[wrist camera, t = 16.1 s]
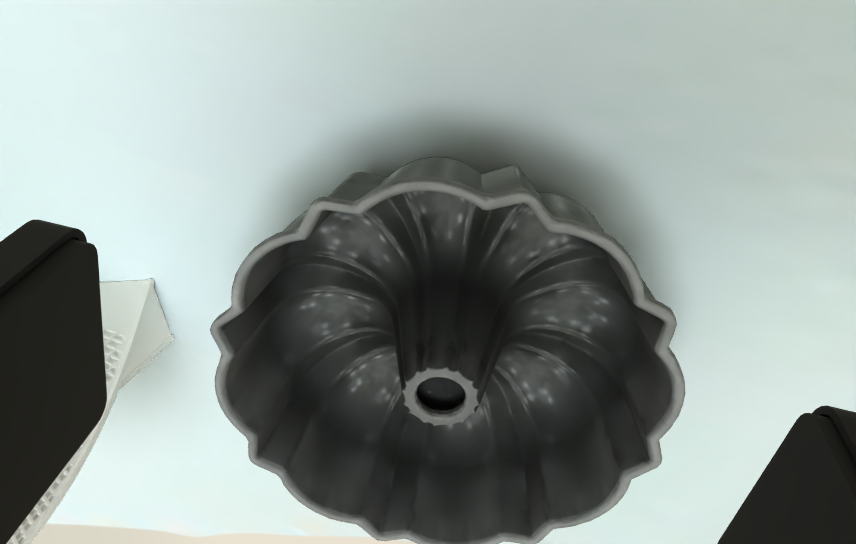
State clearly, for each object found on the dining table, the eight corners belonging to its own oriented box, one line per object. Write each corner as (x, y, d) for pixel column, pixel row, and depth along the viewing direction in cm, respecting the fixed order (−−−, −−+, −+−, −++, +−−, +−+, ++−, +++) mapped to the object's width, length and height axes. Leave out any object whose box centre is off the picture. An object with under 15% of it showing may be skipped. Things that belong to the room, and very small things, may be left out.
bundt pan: (639, 449, 53) (663, 564, 44) (298, 444, 56) (260, 550, 48) (672, 104, 40) (716, 171, 31) (225, 124, 43) (154, 190, 35)
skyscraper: (93, 353, 53) (-248, 760, 29) (56, 268, 50) (-369, 654, 26) (191, 350, 52) (-80, 770, 28) (160, 262, 49) (-182, 659, 25)
